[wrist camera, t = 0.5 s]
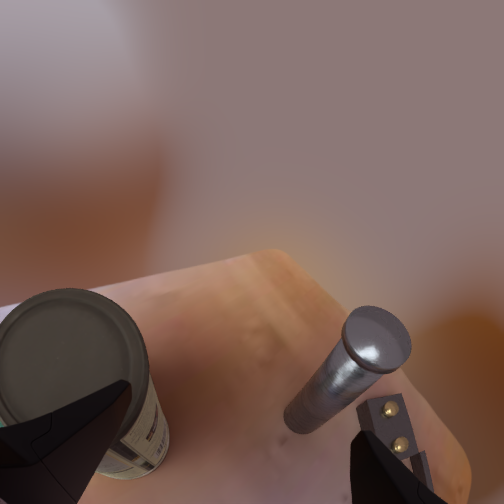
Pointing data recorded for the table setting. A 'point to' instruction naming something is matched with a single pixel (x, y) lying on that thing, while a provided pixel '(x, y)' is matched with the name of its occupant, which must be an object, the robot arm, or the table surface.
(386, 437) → the riveted post bracket
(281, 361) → the table surface
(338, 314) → the table surface
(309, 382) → the link pin
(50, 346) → the coffee can
